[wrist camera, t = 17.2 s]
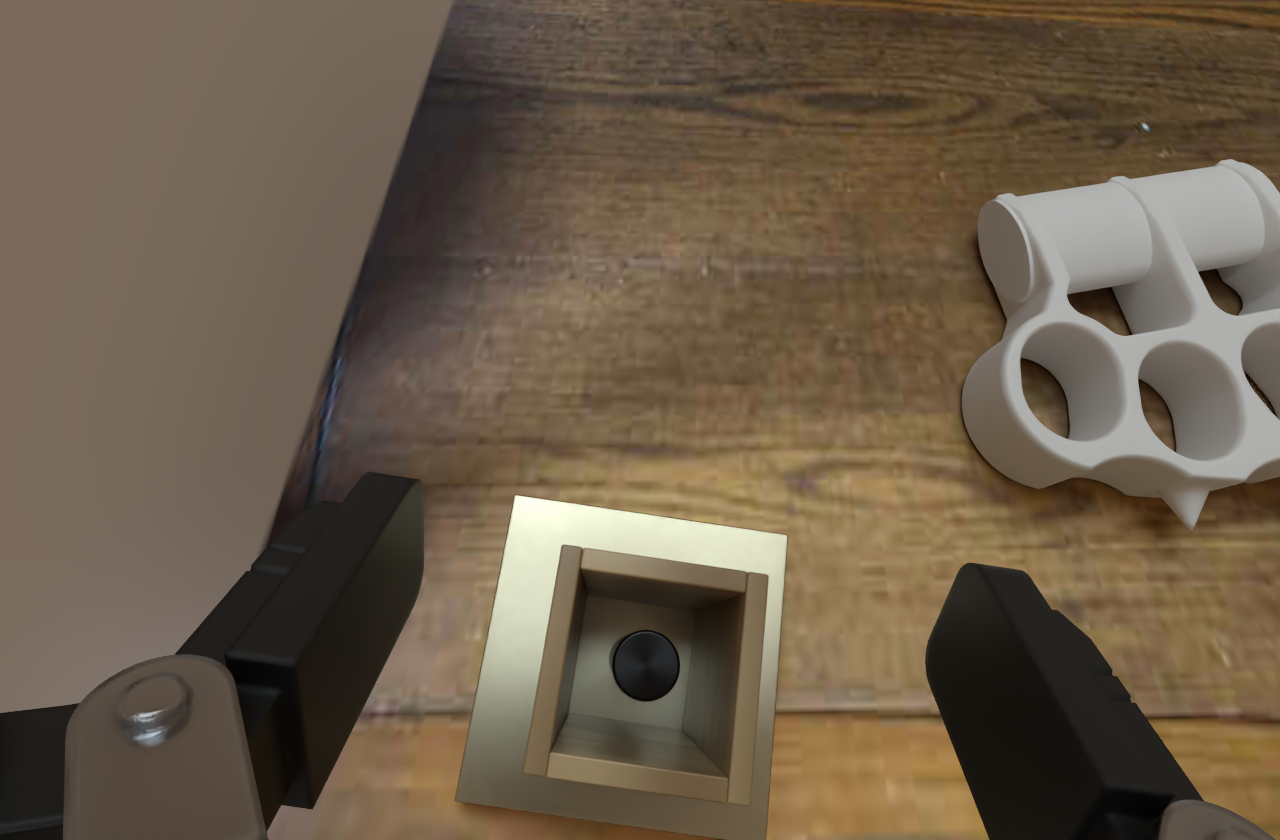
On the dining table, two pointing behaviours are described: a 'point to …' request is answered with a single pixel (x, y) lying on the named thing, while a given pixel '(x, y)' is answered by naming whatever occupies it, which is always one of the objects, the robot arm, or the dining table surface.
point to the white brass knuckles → (1136, 333)
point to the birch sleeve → (716, 692)
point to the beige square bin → (611, 665)
